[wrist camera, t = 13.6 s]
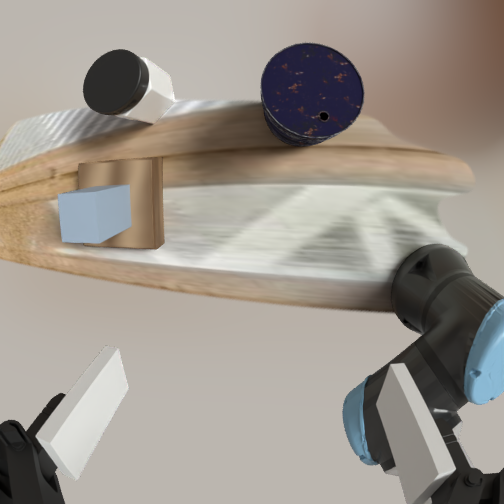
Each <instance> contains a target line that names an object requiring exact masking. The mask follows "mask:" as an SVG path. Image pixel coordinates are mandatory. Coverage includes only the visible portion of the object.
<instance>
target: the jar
mask: <svg viewBox="0 0 504 504" xmlns="http://www.w3.org/2000/svg"><path fill="white" fill-rule="evenodd" d="M83 93H84V98H85V101H86V103H87V105H88V106H89V107H90V108H91V109H92V110H94V111H96V112H98V113H101V114H105V115H114V116H117V117H119V118H124V119H129V120H137V121H142V122H147V123H151V124H154V123H155V122H156V121H157V120H158V119H159V118H160V117H161V116H162V115H163V114H164V113H165V112H166V111H167V110H168V109H169V108H170V107H171V106H172V105H173V104H174V103H175V98H174V93H173V88H172V83H171V78H170V75H168V74H167V73H166V72H165V71H163V70H162V69H161V68H159V67H158V66H157V65H155V64H154V63H152V62H151V61H150V60H148V59H147V58H144V57H138V56H137V55H135V54H134V53H132V52H130V51H128V50H123V49H119V50H113V51H110V52H108V53H106V54H104V55H102V56H101V57H100V58H98V59H97V60H96V61H95V62H94V64H93V65H92V66H91V67H90V69H89V71H88V73H87V75H86V77H85V80H84V85H83Z"/></svg>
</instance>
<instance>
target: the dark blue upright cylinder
mask: <svg viewBox="0 0 504 504" xmlns="http://www.w3.org/2000/svg"><path fill="white" fill-rule="evenodd" d="M261 100H262V105H263V109H264V116H265V120H266V122H267V124H268V126H269V128H270V130H271V131H272V133H273V134H274V135H275V136H276V137H277V138H278V139H280V140H281V141H283V142H285V143H287V144H289V145H293V146H311V145H316V144H318V143H321V142H323V141H325V140H328V139H330V138H332V137H334V136H336V135H338V134H340V133H341V132H342V131H344V130H346V129H347V128H348V127H350V126H351V125H352V124H353V123H354V122H355V121H356V119H357V118H358V116H359V114H360V112H361V110H362V107H363V103H364V86H363V82H362V79H361V76H360V74H359V72H358V70H357V69H356V67H355V66H354V65H353V63H352V62H351V61H350V60H349V59H348V58H347V57H345V56H344V55H343V54H342V53H340V52H338V51H337V50H335V49H333V48H331V47H328V46H325V45H321V44H316V43H300V44H295V45H291V46H289V47H286V48H284V49H282V50H281V51H279V52H278V53H277V54H275V55H274V56H273V57H272V58H271V59H270V61H269V62H268V64H267V65H266V67H265V69H264V71H263V74H262V78H261Z"/></svg>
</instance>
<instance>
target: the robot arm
mask: <svg viewBox="0 0 504 504" xmlns="http://www.w3.org/2000/svg"><path fill="white" fill-rule="evenodd" d="M391 301H392V306H393V309H394V312H395V314H396V315H397V317H398V318H399V319H400V321H401V322H402V323H403V324H404V325H405V326H406V327H407V328H409V329H410V330H412V331H415V332H417V333H419V334H421V335H422V336H421V337H419V338H418V339H417V340H416V341H415V342H414V343H412V344H411V345H410V346H409V347H408V348H406V349H405V350H404V351H403V352H401V353H400V354H399V355H398V356H396V357H395V358H394V359H393V360H391V361H390V362H389V363H388V364H386V365H385V366H383V367H382V368H381V369H379V370H378V371H377V372H375V373H374V374H373V375H369V376H368V377H367V378H366V379H365V381H363V382H362V383H361V384H359V385H358V386H357V387H356V388H354V389H353V390H352V391H350V392H349V394H348V395H347V396H346V398H345V401H344V404H343V423H344V428H345V431H346V434H347V438H348V440H349V442H350V445H351V447H352V449H353V450H354V452H355V454H356V455H358V456H359V457H360V460H361V461H362V462H363V463H365V464H367V465H378V464H380V465H381V467H382V468H383V471H384V472H385V473H386V474H390V475H395V476H399V478H400V481H401V485H402V488H403V492H404V496H405V499H406V503H407V504H504V468H503V469H502V470H501V471H500V472H499V473H492V474H483V473H482V472H481V471H480V470H478V469H477V468H474V466H473V464H472V462H471V460H470V458H469V457H468V455H467V453H466V451H465V450H464V448H463V446H462V444H461V443H460V441H459V435H460V431H461V427H462V423H463V422H462V420H461V419H460V417H459V416H458V414H457V411H458V410H459V409H460V408H461V407H462V406H464V405H465V404H466V403H467V402H471V403H474V404H477V405H482V404H485V403H488V401H489V400H493V399H495V398H496V397H498V396H499V395H500V394H501V393H503V392H504V297H503V296H502V295H501V294H499V293H498V292H496V291H495V290H494V289H492V288H491V287H489V286H488V285H487V284H485V283H483V282H482V281H481V280H479V279H478V278H476V277H475V276H474V275H473V273H472V271H471V269H470V268H469V266H468V264H467V262H466V260H465V259H464V258H463V256H462V255H461V254H460V253H458V252H457V251H456V250H454V249H452V248H450V247H449V246H446V245H442V244H432V245H427V246H425V247H422V248H420V249H418V250H417V251H415V252H414V253H413V254H411V255H410V256H409V257H408V258H407V259H406V260H405V262H404V263H403V264H402V266H401V267H400V269H399V270H398V272H397V274H396V276H395V279H394V282H393V286H392V292H391ZM128 389H129V386H128V383H127V379H126V376H125V372H124V368H123V364H122V360H121V356H120V352H119V348H116V347H111V346H105V347H104V348H103V350H102V351H101V352H100V353H99V354H98V356H97V357H96V358H95V359H94V360H93V362H92V363H91V364H90V365H89V367H88V368H87V369H86V370H85V372H84V373H83V374H82V376H81V377H80V378H79V379H78V380H77V382H76V383H75V384H74V386H73V387H72V388H71V389H70V391H69V392H68V393H67V394H66V395H65V394H63V393H60V394H58V395H56V396H55V397H53V398H52V399H51V400H50V401H49V403H48V404H47V405H46V407H45V408H44V409H43V410H42V413H40V414H39V416H38V417H37V418H36V419H35V421H34V422H33V423H32V424H31V426H30V427H29V429H28V430H27V431H25V430H24V428H23V427H22V425H21V424H20V423H19V422H18V421H15V420H8V421H4V422H3V423H2V424H0V504H65V502H64V499H63V495H62V492H61V489H60V485H59V481H58V478H57V475H56V473H55V471H56V469H57V468H58V469H59V470H60V471H61V473H62V474H63V475H65V476H67V477H69V478H72V479H74V480H76V481H77V480H78V478H79V476H80V474H81V473H82V471H83V469H84V467H85V465H86V464H87V462H88V460H89V458H90V456H91V454H92V453H93V451H94V449H95V447H96V445H97V444H98V442H99V440H100V438H101V436H102V435H103V433H104V431H105V429H106V428H107V426H108V424H109V422H110V420H111V418H112V417H113V415H114V413H115V412H116V410H117V408H118V406H119V405H120V403H121V401H122V400H123V398H124V396H125V394H126V393H127V391H128Z"/></svg>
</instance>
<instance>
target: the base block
mask: <svg viewBox="0 0 504 504" xmlns="http://www.w3.org/2000/svg"><path fill="white" fill-rule="evenodd" d="M162 165H163V157H150V158H134V159H121V160H109V161H98V162H89V163H80V164H79V166H78V181H79V190H80V189H84V188H89V187H94V186H108V185H127V184H130V206H131V223H132V227H130V228H128V229H126V230H124V231H122V232H120V233H118V234H116V235H114V236H113V237H111V238H109V239H107V240H105V241H103V242H101V243H83V245H84V246H95V247H115V248H136V249H158V248H159V247H160V246H162V245H163V244H164V221H163V171H162Z"/></svg>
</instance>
